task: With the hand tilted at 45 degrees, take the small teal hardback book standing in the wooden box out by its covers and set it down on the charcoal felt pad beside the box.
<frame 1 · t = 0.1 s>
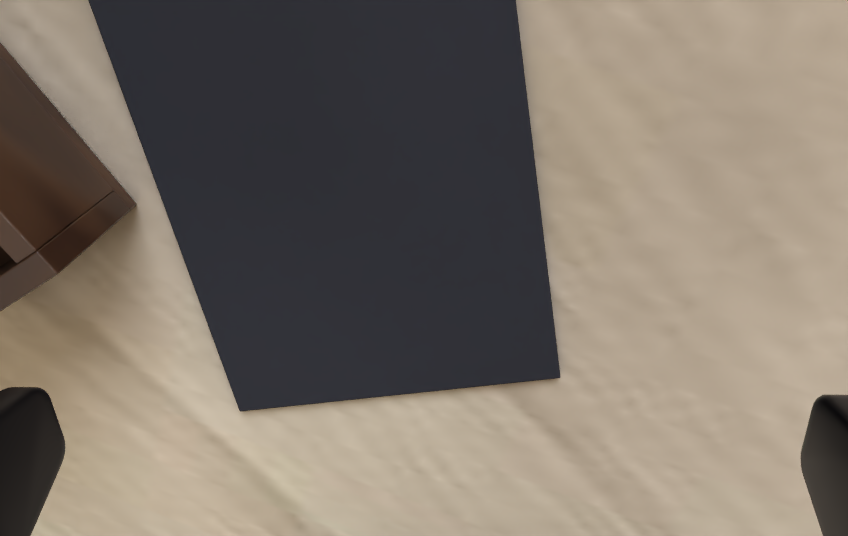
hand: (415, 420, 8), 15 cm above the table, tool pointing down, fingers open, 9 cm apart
felt pad: (331, 128, 22), on the table
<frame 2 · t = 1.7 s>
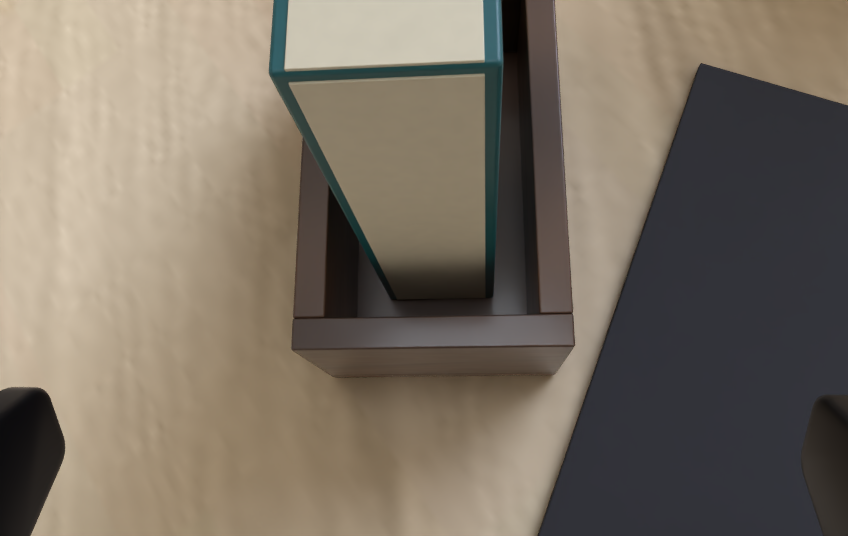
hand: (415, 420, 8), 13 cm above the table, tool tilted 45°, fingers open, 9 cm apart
wooden box: (441, 198, 23), on the table
felt pad: (805, 416, 21), on the table
book: (440, 193, 23), resting on wooden box
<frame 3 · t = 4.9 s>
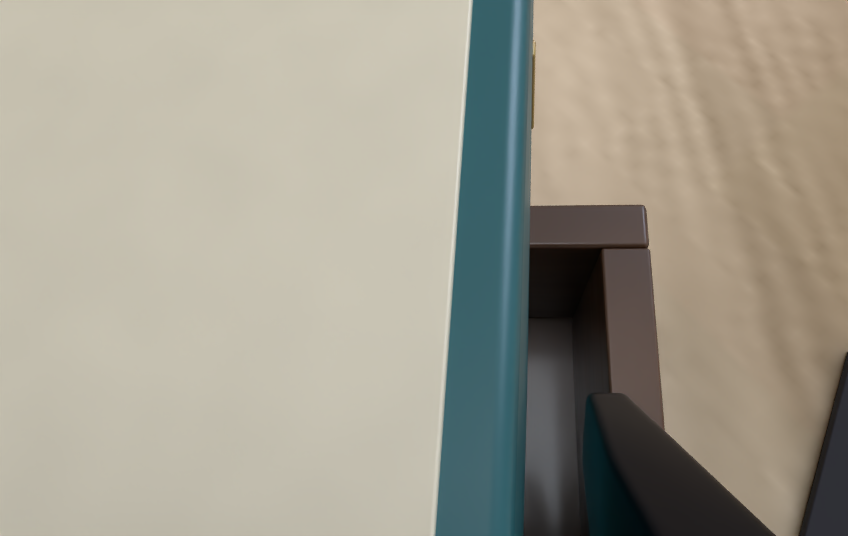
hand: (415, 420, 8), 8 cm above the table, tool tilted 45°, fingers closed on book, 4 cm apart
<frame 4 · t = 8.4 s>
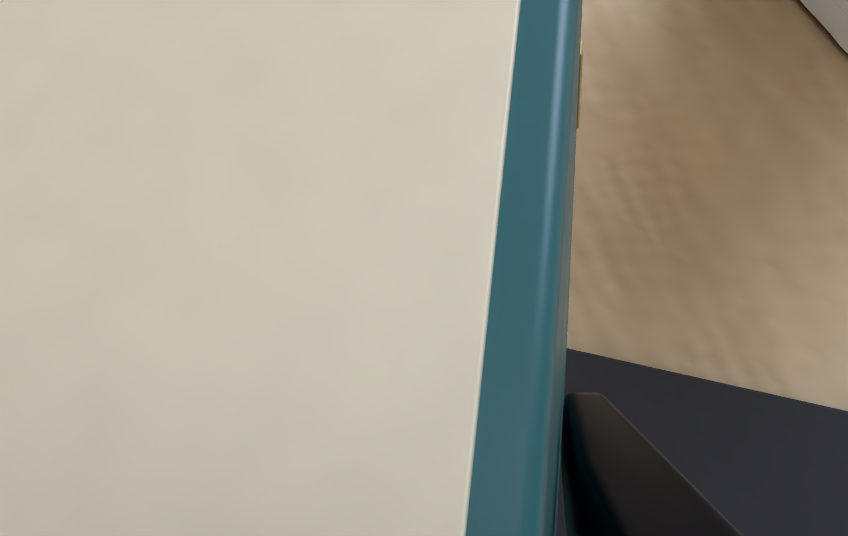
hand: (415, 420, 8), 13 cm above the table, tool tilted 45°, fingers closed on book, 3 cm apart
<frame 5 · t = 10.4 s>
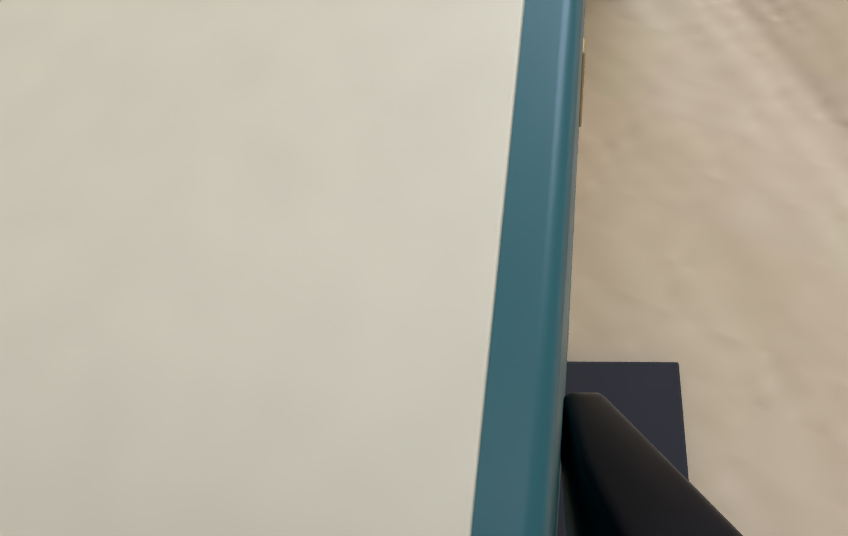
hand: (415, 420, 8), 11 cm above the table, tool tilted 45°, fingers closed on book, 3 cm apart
when the fingers open (8 cm above the table, at t = 12.0 s): book stays where it is, resting on felt pad.
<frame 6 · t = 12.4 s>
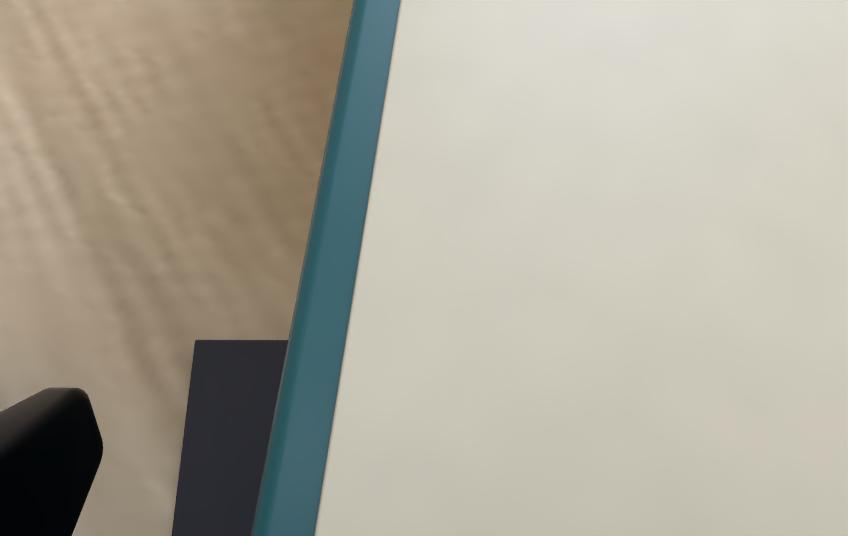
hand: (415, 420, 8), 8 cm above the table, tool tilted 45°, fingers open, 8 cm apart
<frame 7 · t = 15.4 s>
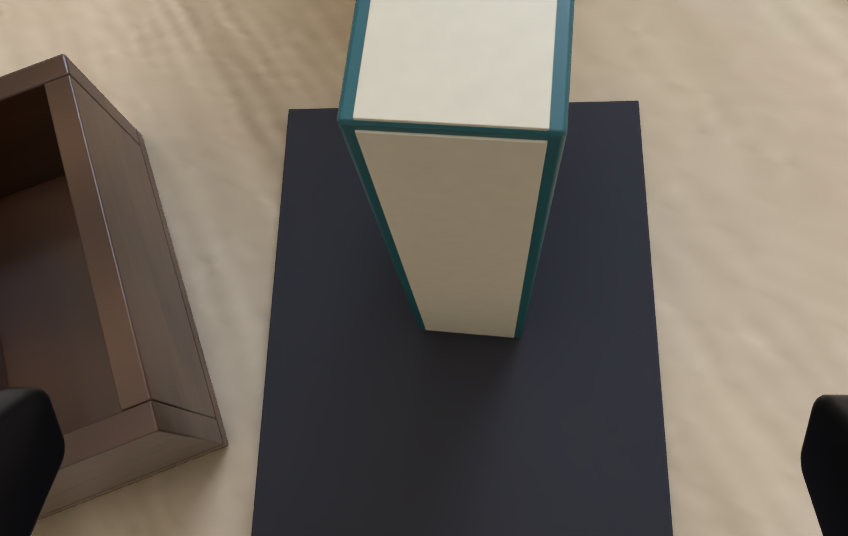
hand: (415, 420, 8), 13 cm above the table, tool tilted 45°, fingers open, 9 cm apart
wooden box: (85, 315, 24), on the table
felt pad: (458, 399, 22), on the table
book: (479, 228, 23), resting on felt pad
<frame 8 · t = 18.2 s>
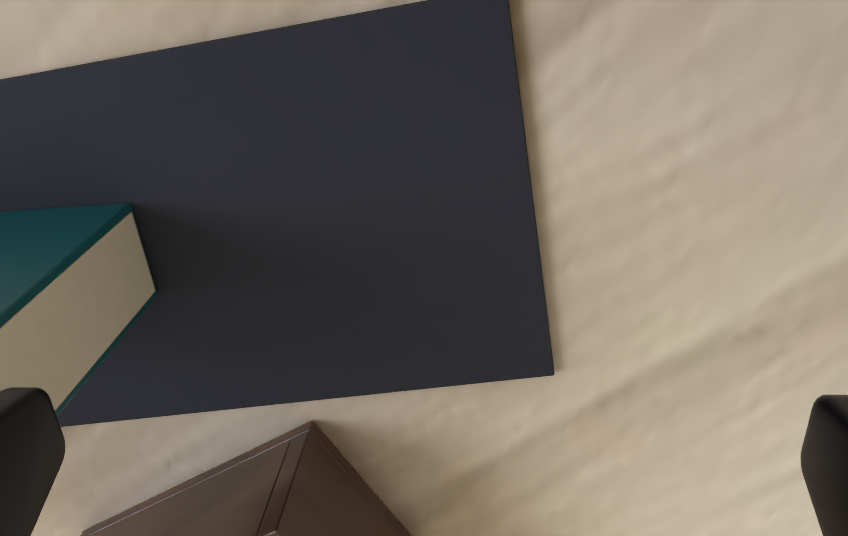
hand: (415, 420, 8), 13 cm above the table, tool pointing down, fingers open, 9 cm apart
felt pad: (211, 247, 22), on the table
book: (40, 255, 23), resting on felt pad
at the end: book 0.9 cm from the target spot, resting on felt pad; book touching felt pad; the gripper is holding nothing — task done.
